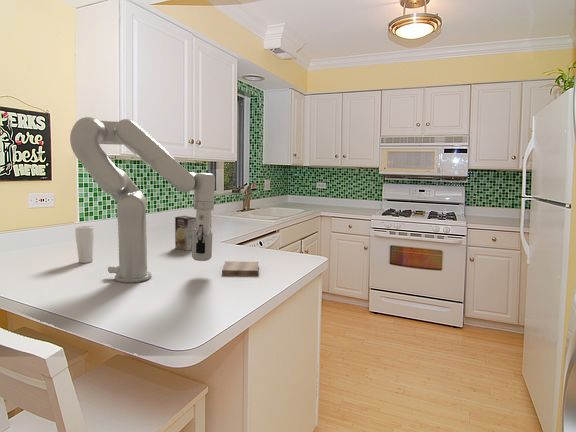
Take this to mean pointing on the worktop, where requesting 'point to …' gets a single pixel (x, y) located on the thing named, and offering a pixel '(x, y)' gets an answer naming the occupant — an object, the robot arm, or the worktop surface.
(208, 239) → the can
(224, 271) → the walnut board
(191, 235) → the coffee box
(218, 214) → the worktop surface
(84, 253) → the drinking glass
